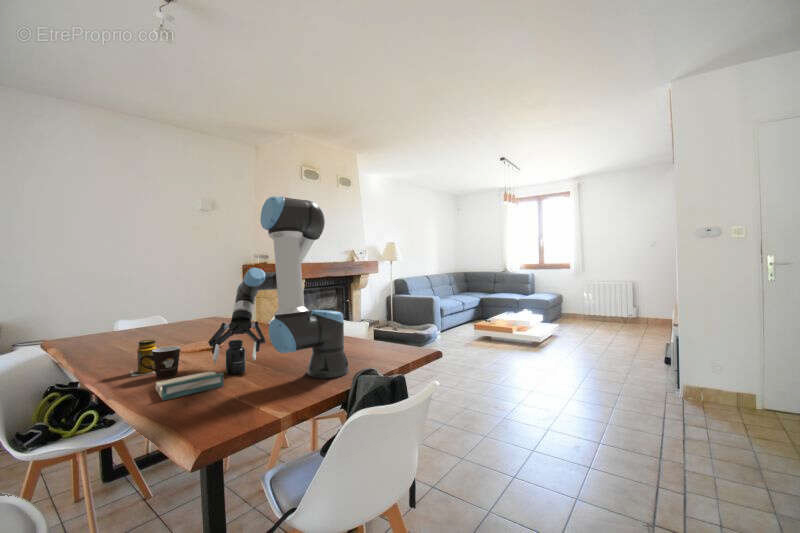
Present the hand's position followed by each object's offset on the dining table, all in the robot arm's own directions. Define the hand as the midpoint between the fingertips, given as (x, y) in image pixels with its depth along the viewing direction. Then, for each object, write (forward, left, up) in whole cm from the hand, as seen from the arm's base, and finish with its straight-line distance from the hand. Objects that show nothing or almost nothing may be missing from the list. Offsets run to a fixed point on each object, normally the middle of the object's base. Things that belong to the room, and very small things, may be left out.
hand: (234, 360), depth 130 cm
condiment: (+27, +24, -5) cm, 37 cm away
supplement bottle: (+1, -1, -5) cm, 6 cm away
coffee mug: (+16, +20, -5) cm, 26 cm away
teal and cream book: (-5, +16, -5) cm, 17 cm away
